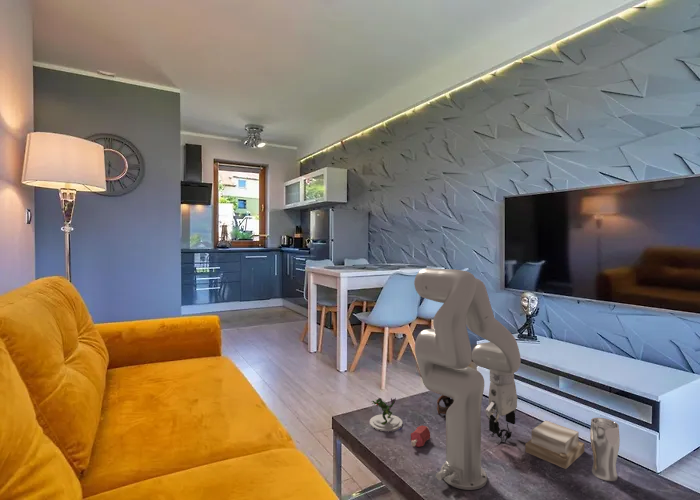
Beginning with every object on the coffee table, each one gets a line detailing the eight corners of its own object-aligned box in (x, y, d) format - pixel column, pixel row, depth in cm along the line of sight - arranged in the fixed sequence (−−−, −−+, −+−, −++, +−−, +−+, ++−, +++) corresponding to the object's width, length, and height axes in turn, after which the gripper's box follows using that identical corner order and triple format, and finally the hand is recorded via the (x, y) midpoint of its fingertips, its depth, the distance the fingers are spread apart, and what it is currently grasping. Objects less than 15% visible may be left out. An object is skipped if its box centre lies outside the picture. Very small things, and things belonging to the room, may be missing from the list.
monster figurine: (363, 420, 144) (363, 393, 144) (390, 413, 150) (390, 387, 149) (380, 435, 133) (380, 406, 133) (409, 427, 139) (408, 398, 139)
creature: (491, 449, 126) (516, 445, 124) (487, 433, 126) (512, 429, 124) (486, 437, 133) (510, 433, 132) (483, 421, 133) (506, 418, 132)
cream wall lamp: (565, 470, 112) (565, 446, 112) (525, 452, 122) (525, 431, 121) (584, 452, 121) (584, 430, 121) (545, 437, 131) (545, 417, 130)
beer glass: (625, 479, 107) (625, 426, 107) (606, 484, 105) (606, 430, 105) (602, 465, 114) (602, 415, 113) (584, 470, 112) (584, 419, 111)
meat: (421, 452, 121) (417, 436, 122) (408, 451, 124) (404, 436, 125) (436, 435, 131) (432, 421, 132) (423, 435, 134) (419, 421, 134)
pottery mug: (468, 418, 146) (461, 402, 143) (446, 429, 146) (438, 414, 143) (456, 398, 157) (449, 383, 154) (435, 408, 157) (428, 393, 155)
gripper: (497, 387, 120) (498, 441, 121) (526, 373, 130) (526, 423, 131) (476, 380, 126) (477, 431, 126) (505, 368, 136) (506, 415, 137)
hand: (502, 427), depth 129 cm, fingers open, 9 cm apart
